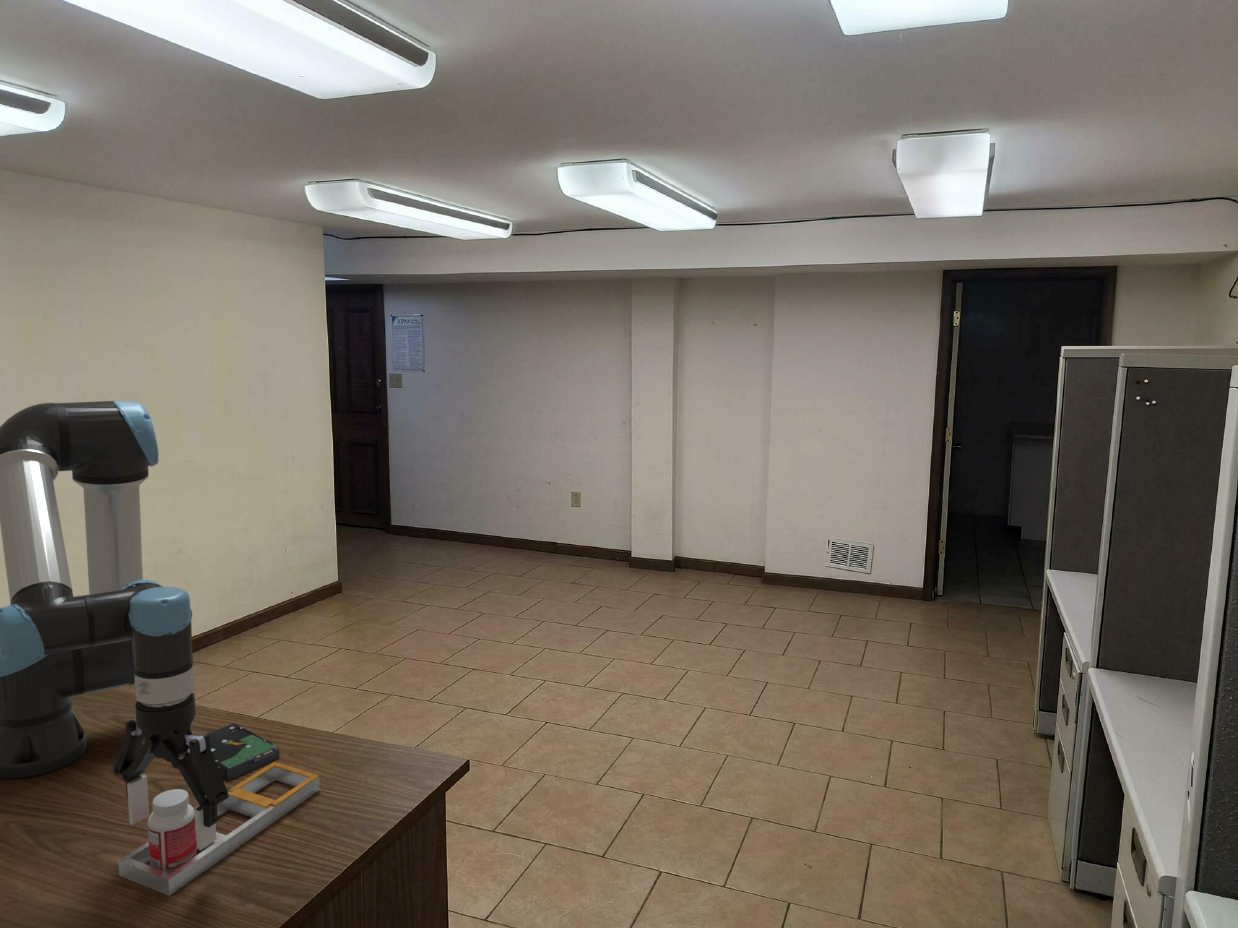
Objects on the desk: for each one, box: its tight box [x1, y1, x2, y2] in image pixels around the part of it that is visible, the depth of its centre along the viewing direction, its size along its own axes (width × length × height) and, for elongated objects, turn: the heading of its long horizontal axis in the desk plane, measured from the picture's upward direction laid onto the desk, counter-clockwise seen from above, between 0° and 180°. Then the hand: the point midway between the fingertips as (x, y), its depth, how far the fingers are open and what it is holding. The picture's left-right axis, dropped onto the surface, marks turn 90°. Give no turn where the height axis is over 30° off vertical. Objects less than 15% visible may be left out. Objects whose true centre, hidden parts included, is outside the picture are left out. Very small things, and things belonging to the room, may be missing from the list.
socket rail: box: [118, 761, 320, 897], centre depth 134 cm, size 10×30×3 cm, turn 158°
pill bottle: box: [147, 788, 198, 874], centre depth 124 cm, size 6×6×11 cm
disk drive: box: [184, 722, 280, 781], centre depth 156 cm, size 10×3×15 cm
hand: (172, 831), depth 124 cm, fingers open, 13 cm apart
